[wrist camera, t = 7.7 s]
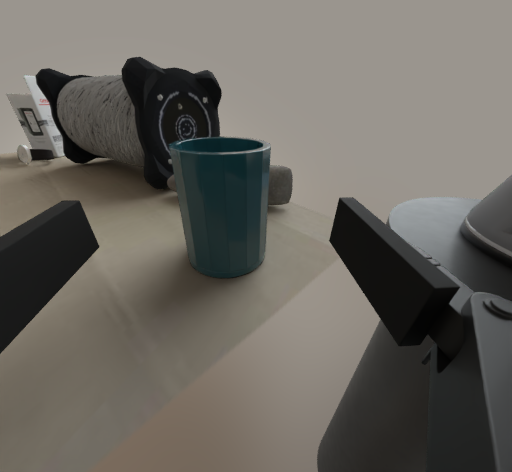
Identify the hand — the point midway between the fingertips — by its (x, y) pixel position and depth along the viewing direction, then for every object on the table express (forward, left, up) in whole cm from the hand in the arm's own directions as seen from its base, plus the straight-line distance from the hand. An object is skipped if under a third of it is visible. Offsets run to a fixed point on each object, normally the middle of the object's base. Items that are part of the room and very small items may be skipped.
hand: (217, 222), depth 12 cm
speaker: (+30, -21, +9) cm, 38 cm away
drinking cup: (+3, -5, -6) cm, 8 cm away
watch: (+53, -15, -3) cm, 55 cm away
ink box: (+58, -21, -6) cm, 62 cm away
